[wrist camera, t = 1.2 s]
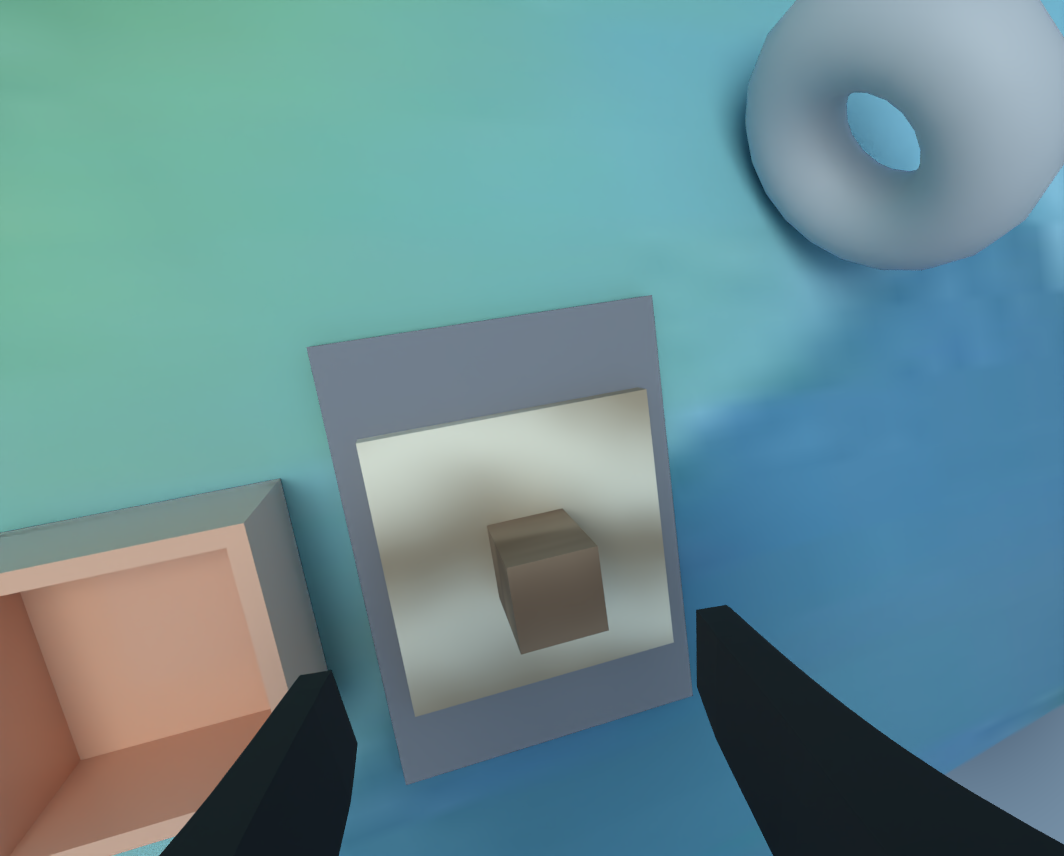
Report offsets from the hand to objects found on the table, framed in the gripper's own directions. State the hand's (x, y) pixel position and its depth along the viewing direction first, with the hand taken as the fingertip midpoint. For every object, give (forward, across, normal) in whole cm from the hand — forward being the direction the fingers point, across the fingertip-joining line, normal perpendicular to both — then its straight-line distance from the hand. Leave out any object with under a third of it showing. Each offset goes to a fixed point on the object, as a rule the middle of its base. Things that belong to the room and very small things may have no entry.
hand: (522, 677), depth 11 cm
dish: (+9, +12, +4) cm, 16 cm away
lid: (+11, 0, +4) cm, 11 cm away
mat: (+11, 0, +4) cm, 12 cm away
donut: (+16, -13, -8) cm, 22 cm away
